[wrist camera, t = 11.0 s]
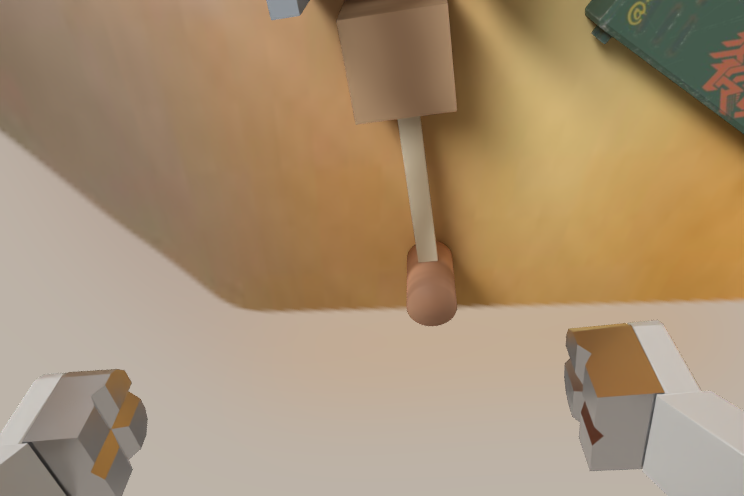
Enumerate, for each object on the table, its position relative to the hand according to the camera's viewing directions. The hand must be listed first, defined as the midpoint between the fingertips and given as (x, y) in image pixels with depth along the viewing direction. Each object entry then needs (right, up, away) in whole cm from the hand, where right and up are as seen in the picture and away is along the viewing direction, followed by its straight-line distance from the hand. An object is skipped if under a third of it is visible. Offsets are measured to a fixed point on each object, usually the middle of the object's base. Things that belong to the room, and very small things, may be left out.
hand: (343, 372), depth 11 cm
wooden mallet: (+3, +8, +25) cm, 26 cm away
